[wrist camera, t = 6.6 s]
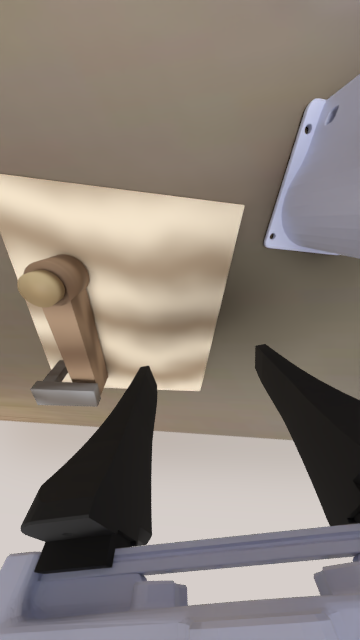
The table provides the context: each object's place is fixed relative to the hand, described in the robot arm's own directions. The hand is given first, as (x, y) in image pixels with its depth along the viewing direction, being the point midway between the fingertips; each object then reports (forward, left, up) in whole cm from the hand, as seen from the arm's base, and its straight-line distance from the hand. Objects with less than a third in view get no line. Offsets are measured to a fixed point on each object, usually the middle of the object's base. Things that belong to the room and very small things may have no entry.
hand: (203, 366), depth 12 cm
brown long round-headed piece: (+3, -12, -8) cm, 14 cm away
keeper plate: (+2, -7, -9) cm, 12 cm away
